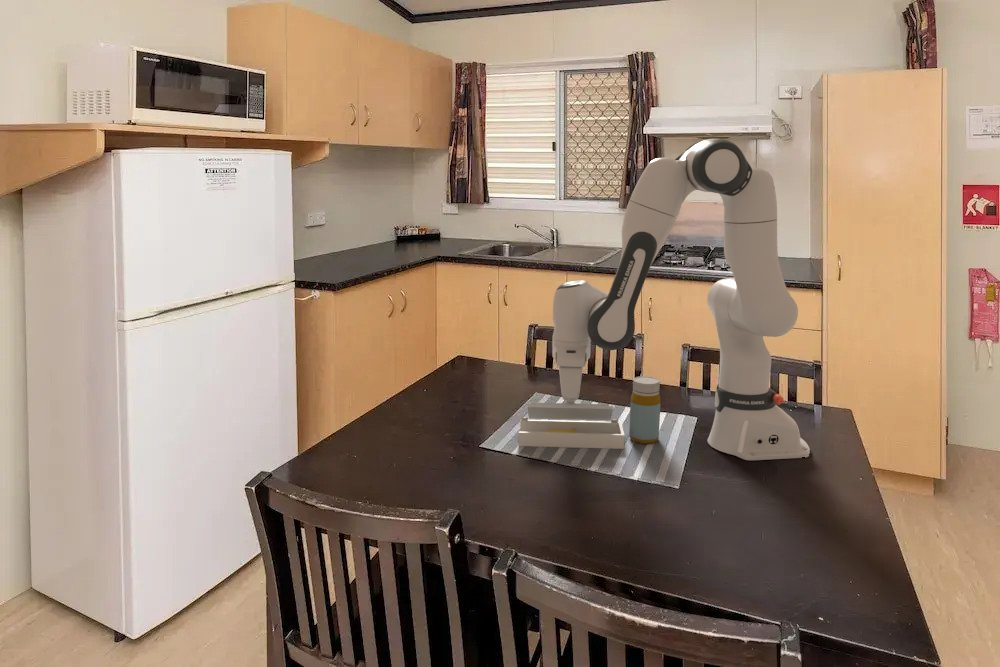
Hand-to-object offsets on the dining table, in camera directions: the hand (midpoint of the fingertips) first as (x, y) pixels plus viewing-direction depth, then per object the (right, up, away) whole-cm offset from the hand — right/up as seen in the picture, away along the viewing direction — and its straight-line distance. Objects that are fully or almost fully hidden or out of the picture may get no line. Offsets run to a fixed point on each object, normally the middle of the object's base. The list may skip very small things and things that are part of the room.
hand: (570, 405), depth 167 cm
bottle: (+18, -9, +3) cm, 20 cm away
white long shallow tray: (0, -9, +2) cm, 9 cm away
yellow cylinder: (-2, -9, +2) cm, 9 cm away
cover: (0, -2, +1) cm, 2 cm away
